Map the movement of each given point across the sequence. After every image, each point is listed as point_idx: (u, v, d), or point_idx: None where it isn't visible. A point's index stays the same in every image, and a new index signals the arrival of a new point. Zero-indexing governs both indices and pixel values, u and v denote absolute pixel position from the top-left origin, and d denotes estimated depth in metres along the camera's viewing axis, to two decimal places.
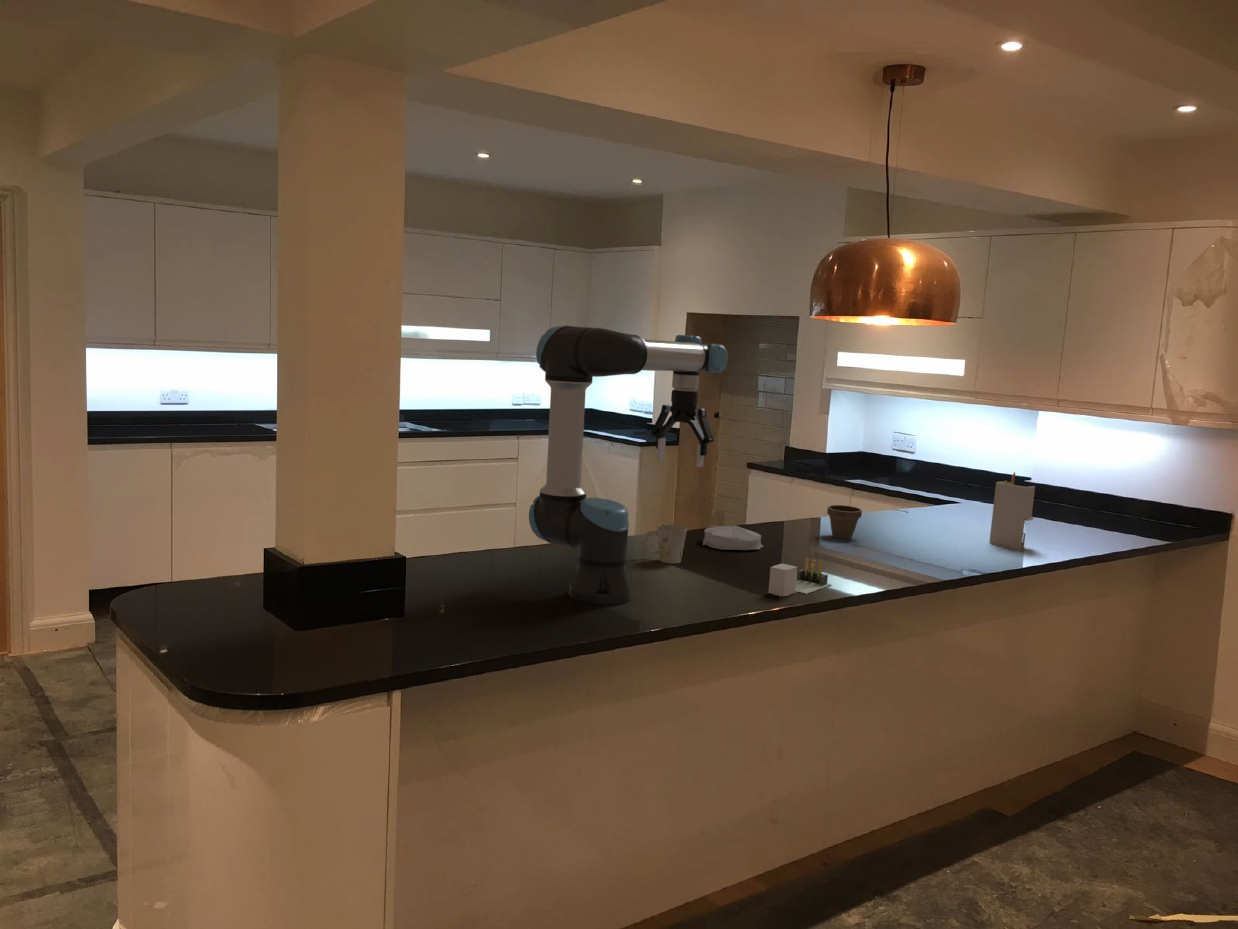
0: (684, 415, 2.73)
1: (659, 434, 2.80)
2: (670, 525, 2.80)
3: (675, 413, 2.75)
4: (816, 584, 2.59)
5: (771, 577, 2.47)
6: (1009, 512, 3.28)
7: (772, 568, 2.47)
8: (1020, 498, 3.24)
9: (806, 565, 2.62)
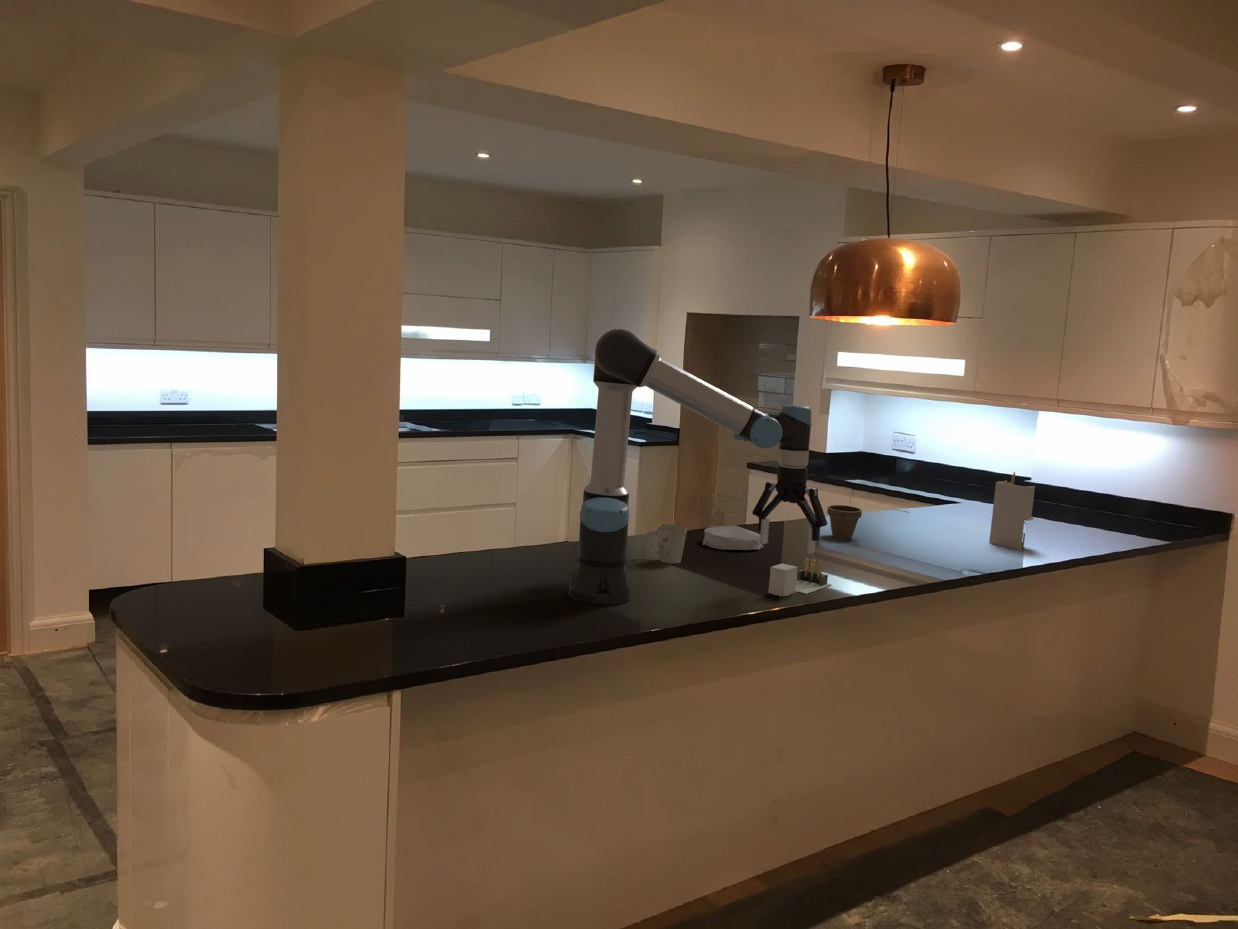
0: (793, 495, 2.43)
1: (762, 514, 2.50)
2: (670, 525, 2.80)
3: (782, 492, 2.45)
4: (816, 584, 2.59)
5: (771, 577, 2.47)
6: (1009, 512, 3.28)
7: (772, 568, 2.47)
8: (1020, 498, 3.24)
9: (806, 565, 2.62)
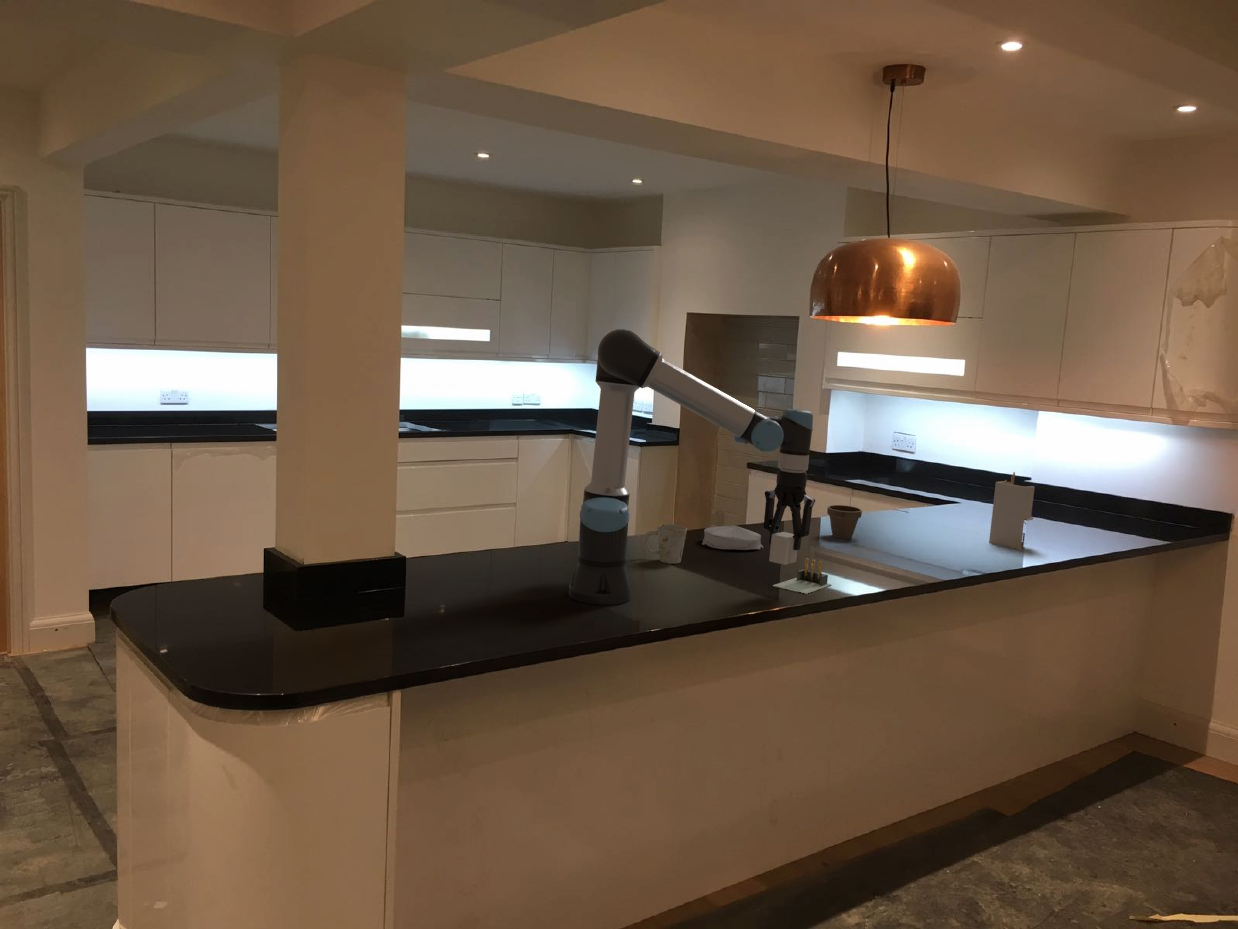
0: (790, 499, 2.44)
1: (773, 527, 2.48)
2: (670, 525, 2.80)
3: (781, 496, 2.45)
4: (816, 584, 2.59)
5: (772, 544, 2.46)
6: (1009, 512, 3.28)
7: (773, 535, 2.46)
8: (1019, 498, 3.25)
9: (806, 565, 2.62)
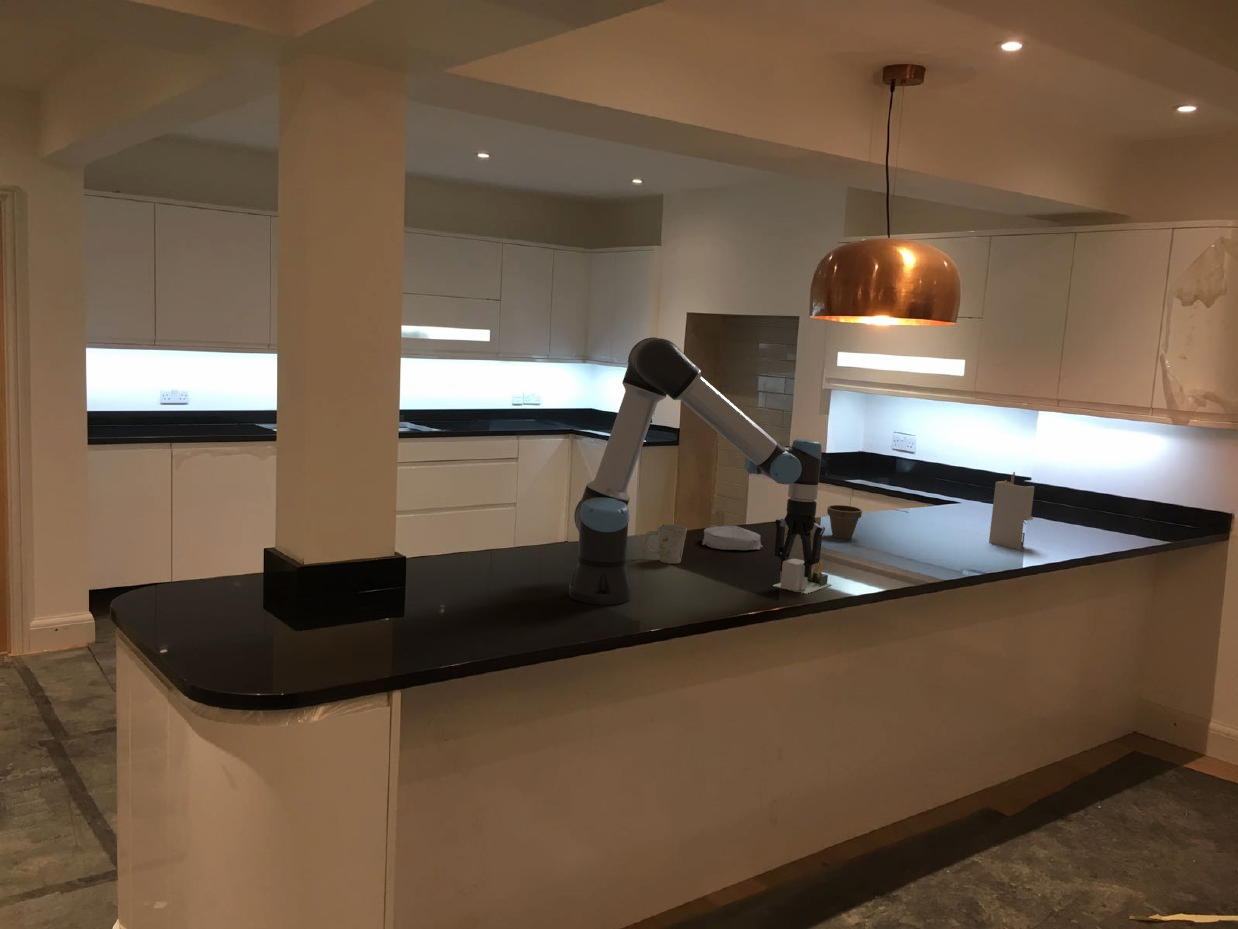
0: (800, 528, 2.50)
1: (784, 555, 2.54)
2: (670, 525, 2.80)
3: (792, 525, 2.51)
4: (816, 584, 2.59)
5: (783, 571, 2.52)
6: (1008, 512, 3.28)
7: (784, 562, 2.52)
8: (1019, 498, 3.25)
9: None
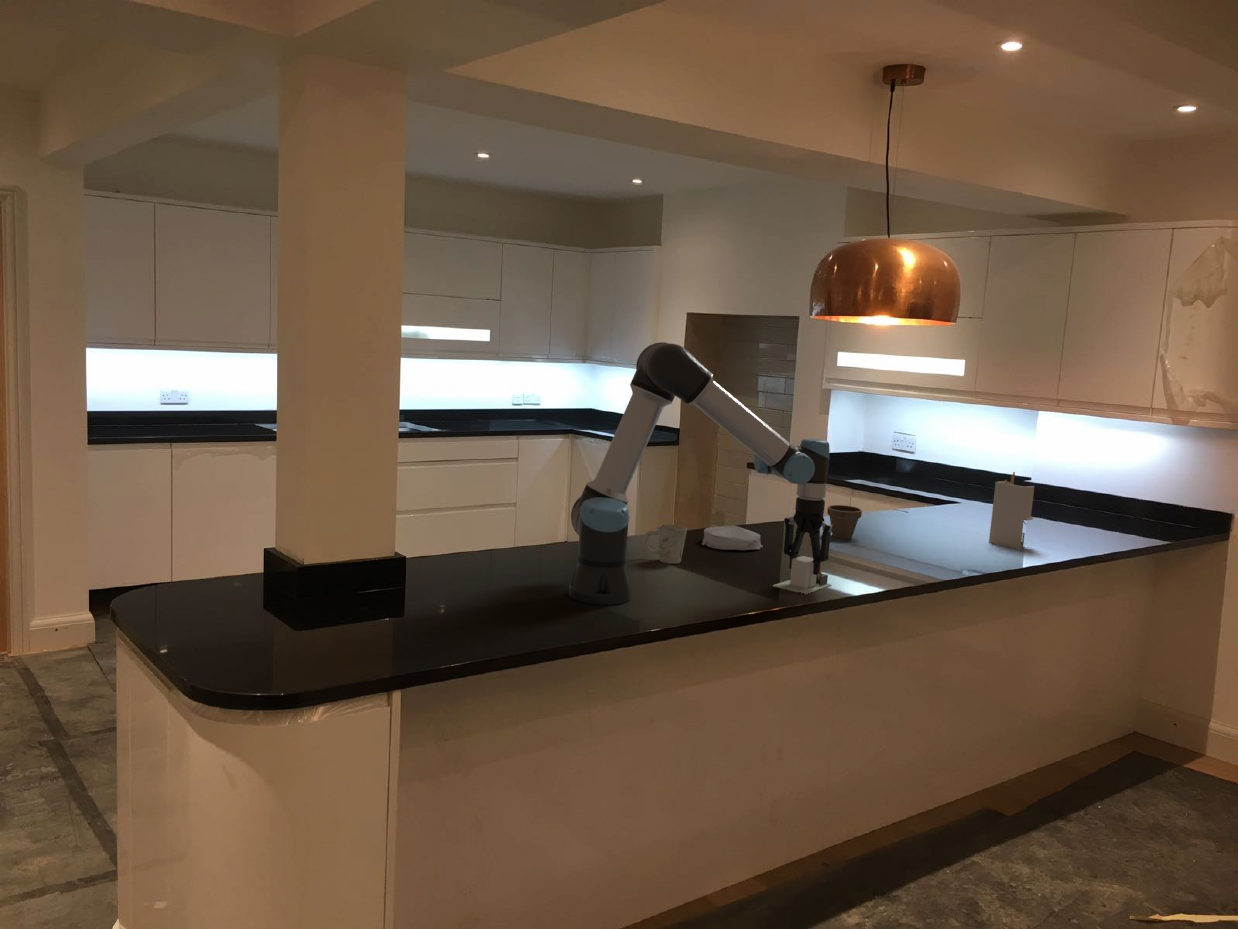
0: (809, 526, 2.53)
1: (793, 553, 2.58)
2: (670, 525, 2.80)
3: (801, 523, 2.55)
4: (816, 584, 2.59)
5: (792, 569, 2.56)
6: (1008, 512, 3.28)
7: (793, 560, 2.56)
8: (1019, 498, 3.25)
9: None
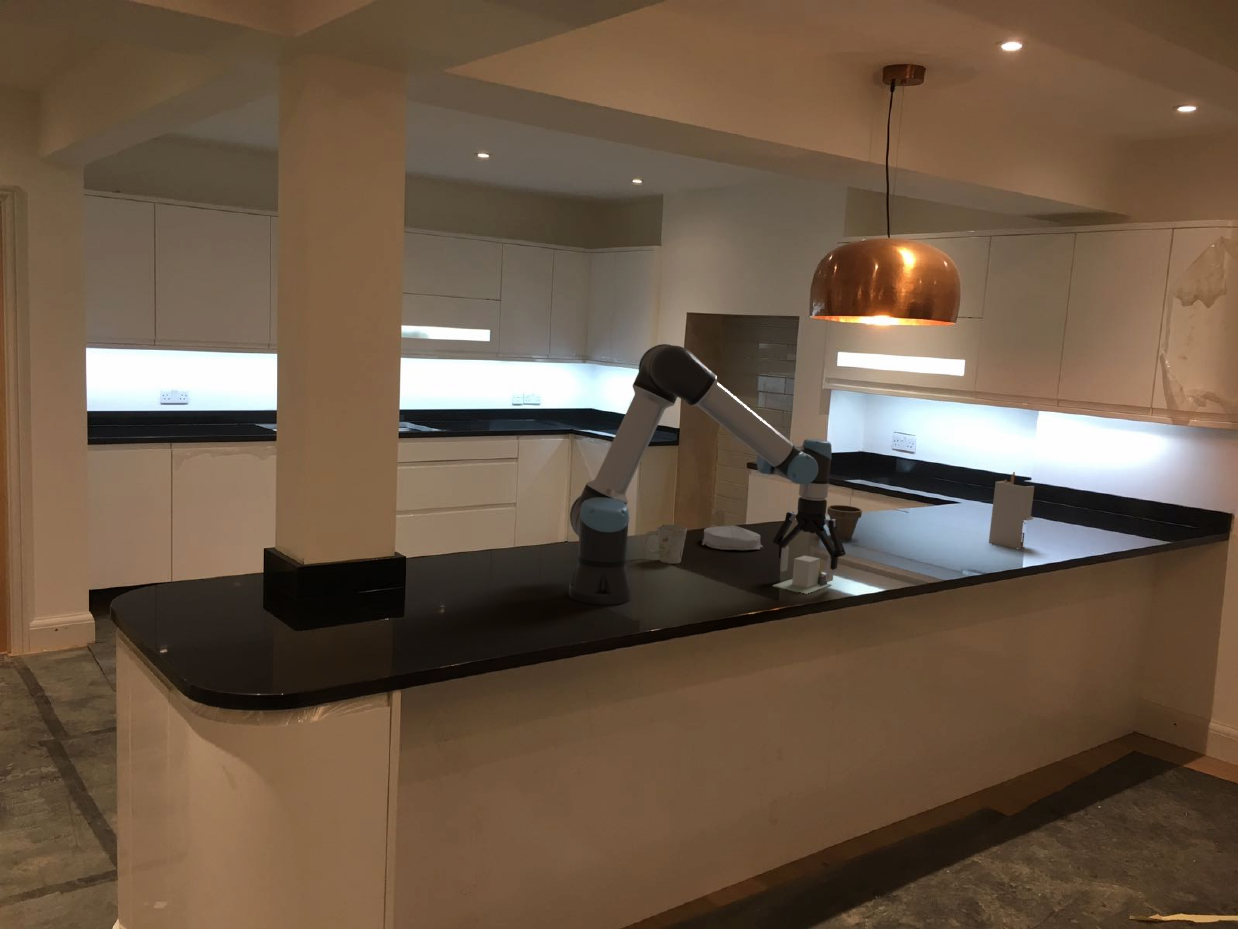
0: (813, 526, 2.54)
1: (783, 543, 2.61)
2: (670, 525, 2.80)
3: (802, 523, 2.56)
4: (816, 584, 2.59)
5: (795, 568, 2.57)
6: (1008, 511, 3.29)
7: (796, 560, 2.56)
8: (1019, 498, 3.25)
9: None
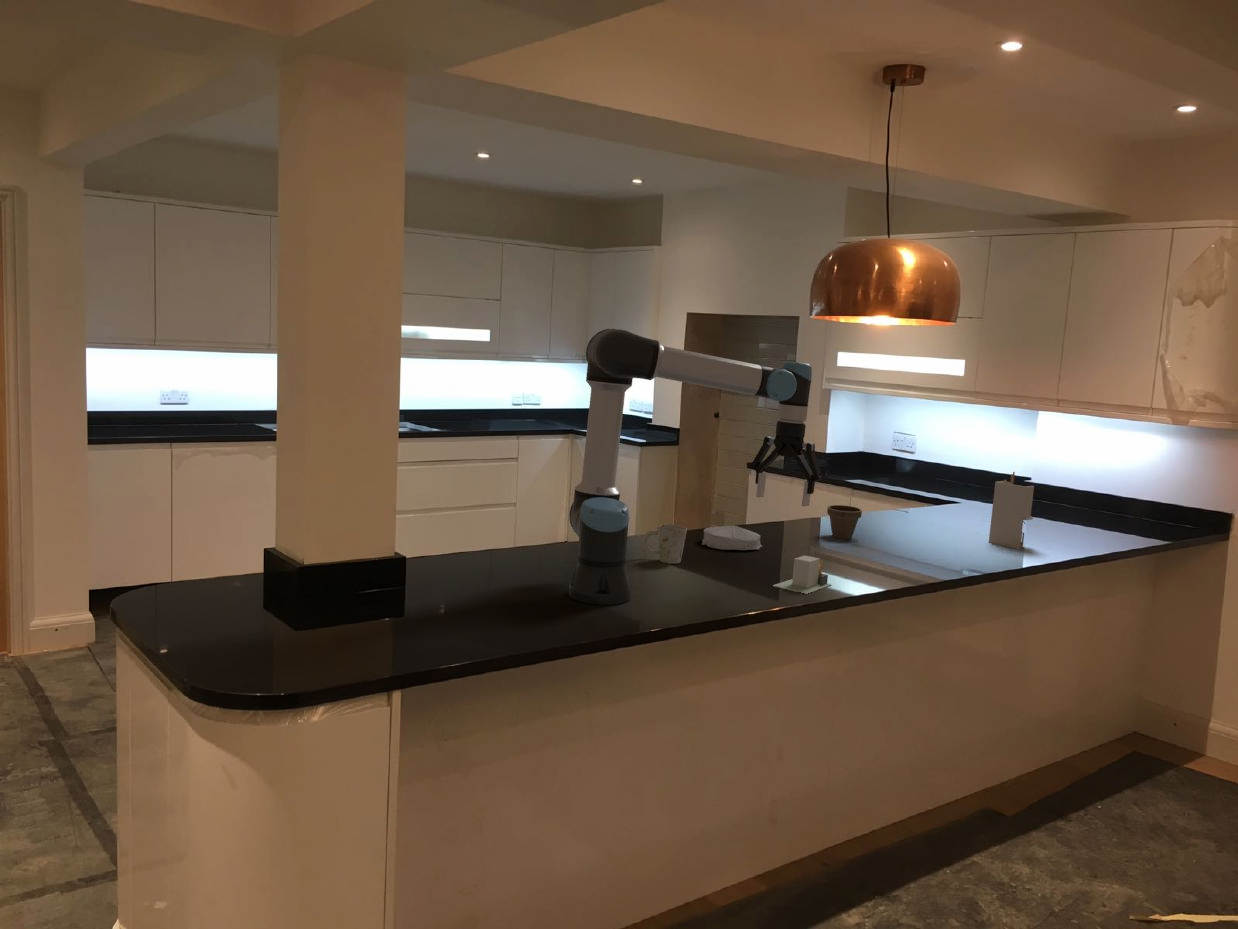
0: (790, 449, 2.50)
1: (760, 468, 2.57)
2: (670, 525, 2.80)
3: (780, 446, 2.52)
4: (816, 584, 2.59)
5: (795, 568, 2.57)
6: (1008, 511, 3.29)
7: (796, 560, 2.56)
8: (1019, 497, 3.25)
9: None
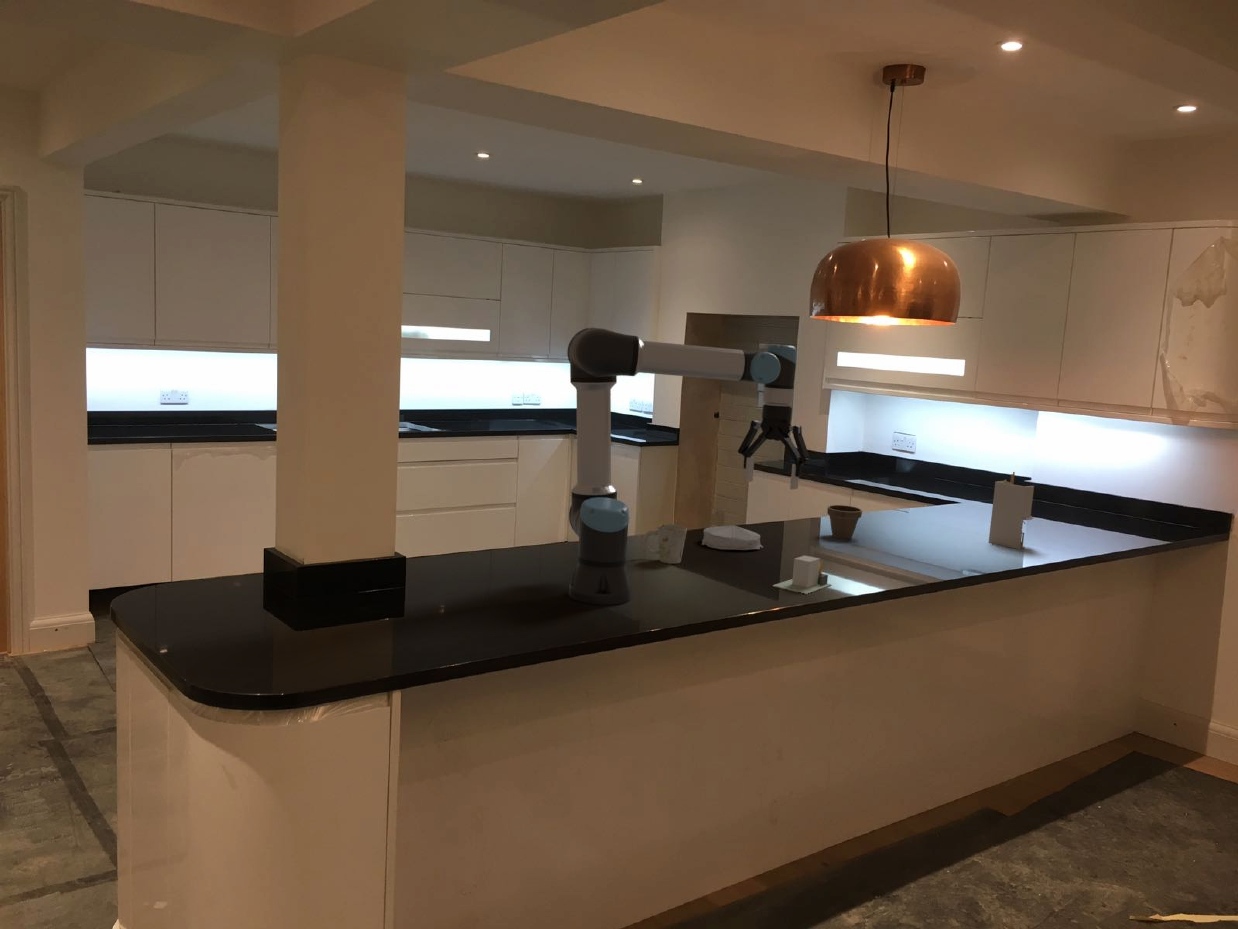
0: (777, 432, 2.49)
1: (747, 453, 2.56)
2: (670, 525, 2.80)
3: (767, 430, 2.51)
4: (816, 584, 2.59)
5: (795, 568, 2.57)
6: (1008, 511, 3.29)
7: (796, 560, 2.56)
8: (1019, 497, 3.25)
9: None
